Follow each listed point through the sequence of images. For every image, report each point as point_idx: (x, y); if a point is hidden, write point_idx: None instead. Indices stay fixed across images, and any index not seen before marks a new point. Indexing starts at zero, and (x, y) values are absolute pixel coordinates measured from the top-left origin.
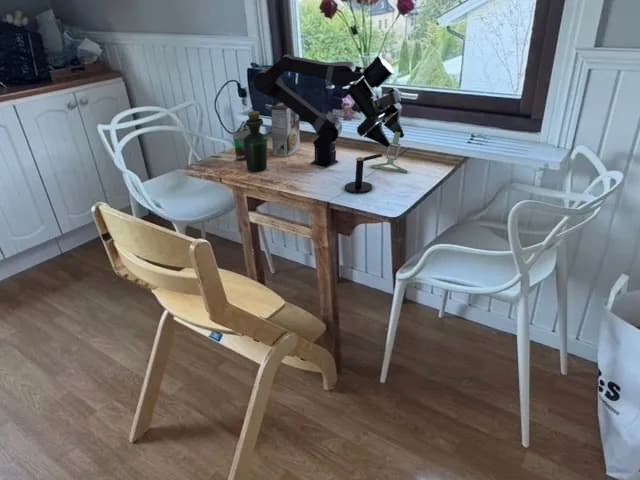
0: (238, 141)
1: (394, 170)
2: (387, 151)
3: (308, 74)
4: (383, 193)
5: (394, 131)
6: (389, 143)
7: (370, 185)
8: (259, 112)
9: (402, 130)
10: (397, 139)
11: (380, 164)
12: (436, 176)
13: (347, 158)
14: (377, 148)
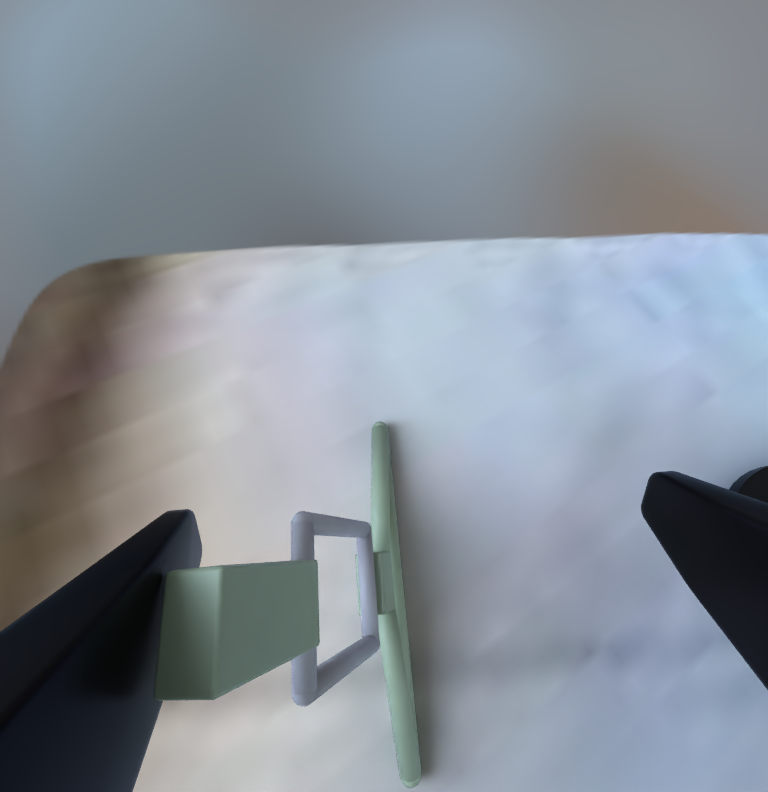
0: None
1: (395, 519)
2: (356, 665)
3: None
4: (731, 385)
5: (122, 766)
6: (689, 476)
7: (754, 492)
8: None
9: (96, 568)
10: (296, 566)
11: (404, 675)
12: (346, 264)
13: None
14: None
